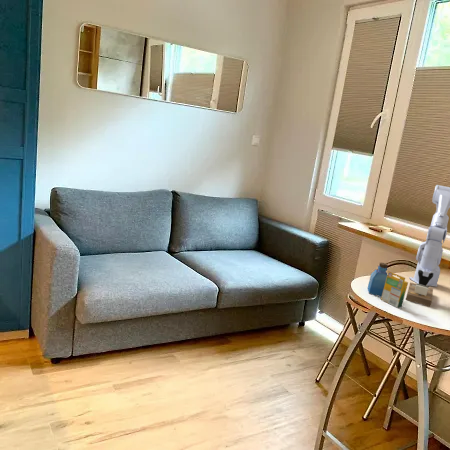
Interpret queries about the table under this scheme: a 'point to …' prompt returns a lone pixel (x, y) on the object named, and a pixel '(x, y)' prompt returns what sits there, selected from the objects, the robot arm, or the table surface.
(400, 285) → the crayon box
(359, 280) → the table surface
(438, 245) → the robot arm
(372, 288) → the perfume bottle
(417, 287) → the fader knob
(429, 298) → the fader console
